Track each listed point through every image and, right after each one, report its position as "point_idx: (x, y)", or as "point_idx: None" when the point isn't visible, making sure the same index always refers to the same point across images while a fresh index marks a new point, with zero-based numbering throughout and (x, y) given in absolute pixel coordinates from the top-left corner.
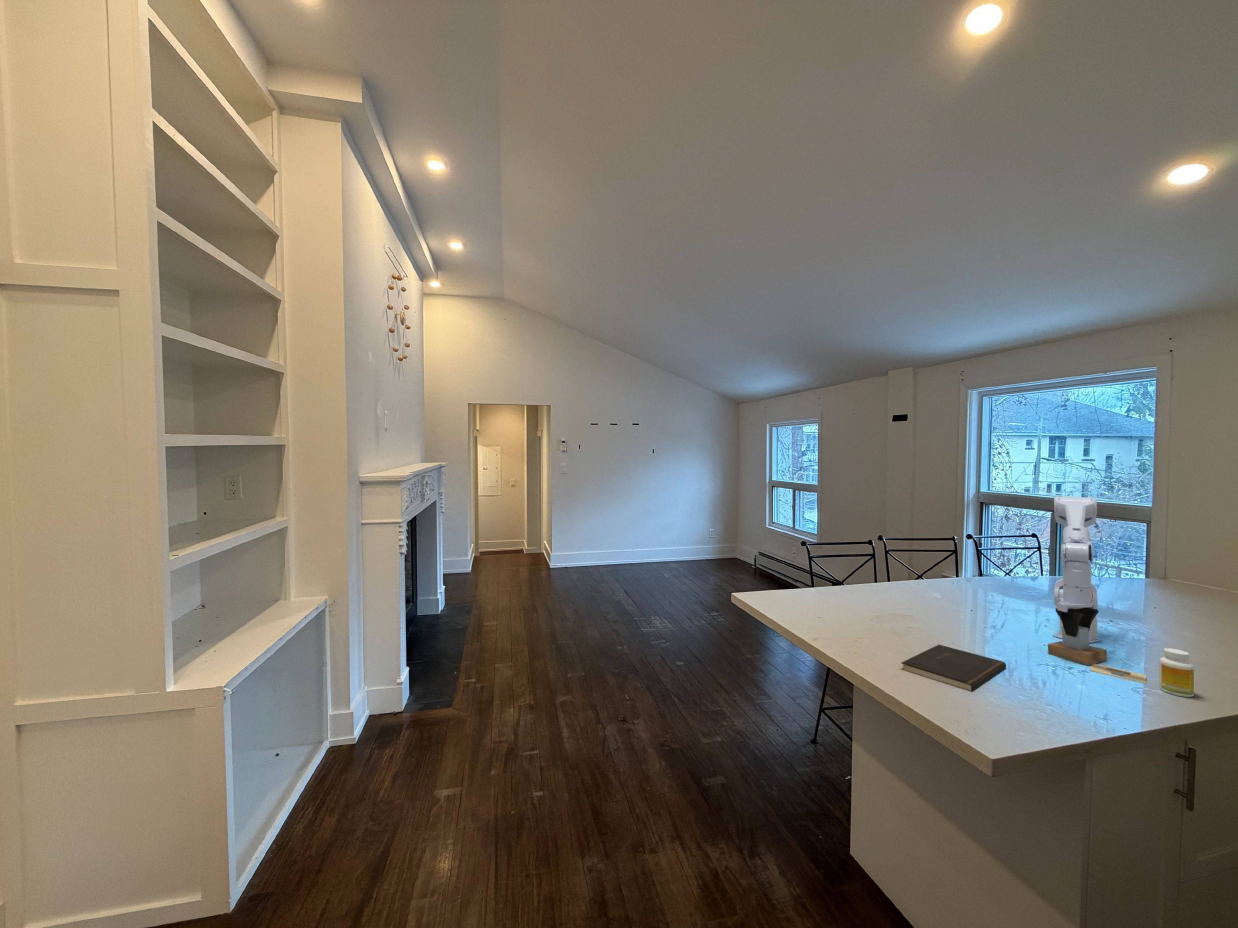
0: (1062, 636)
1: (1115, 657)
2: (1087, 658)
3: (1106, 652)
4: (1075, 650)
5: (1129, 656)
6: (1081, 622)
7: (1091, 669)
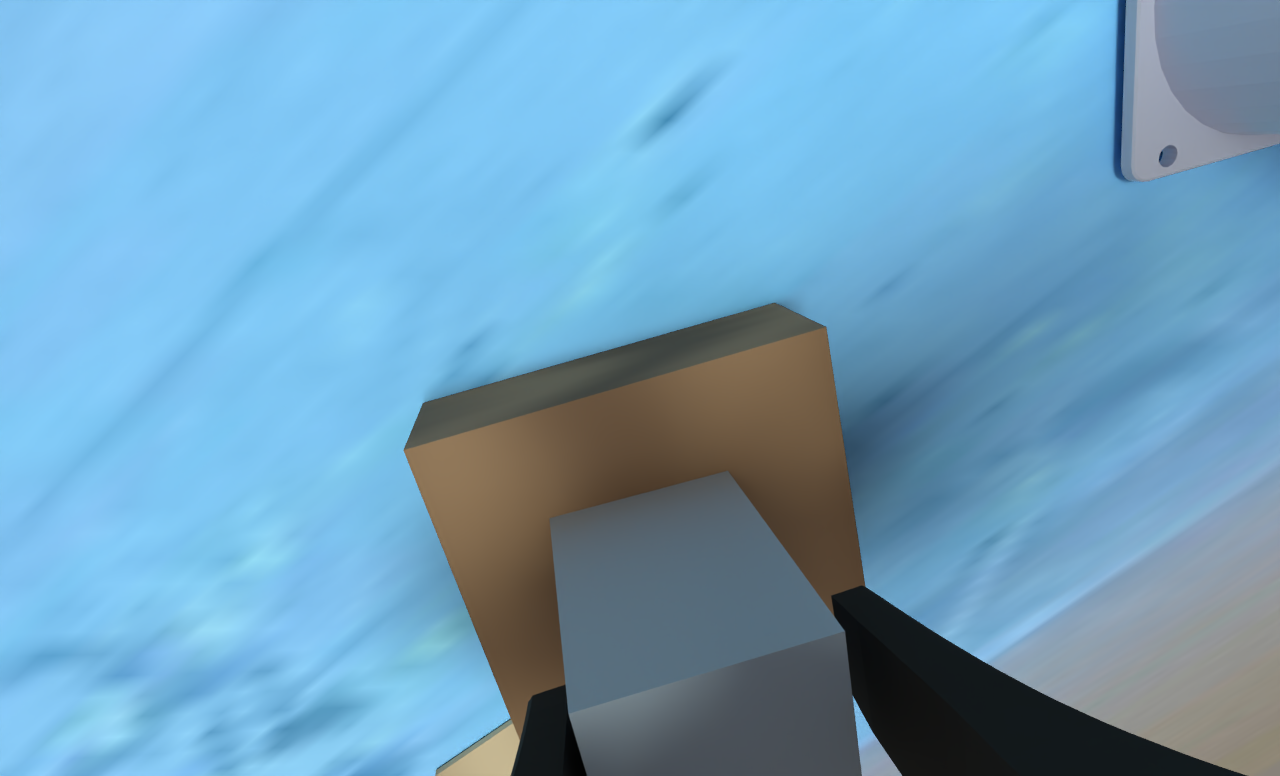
0: (557, 584)
1: (1000, 504)
2: None
3: None
4: (518, 681)
5: (1135, 487)
6: (950, 766)
7: (471, 759)
